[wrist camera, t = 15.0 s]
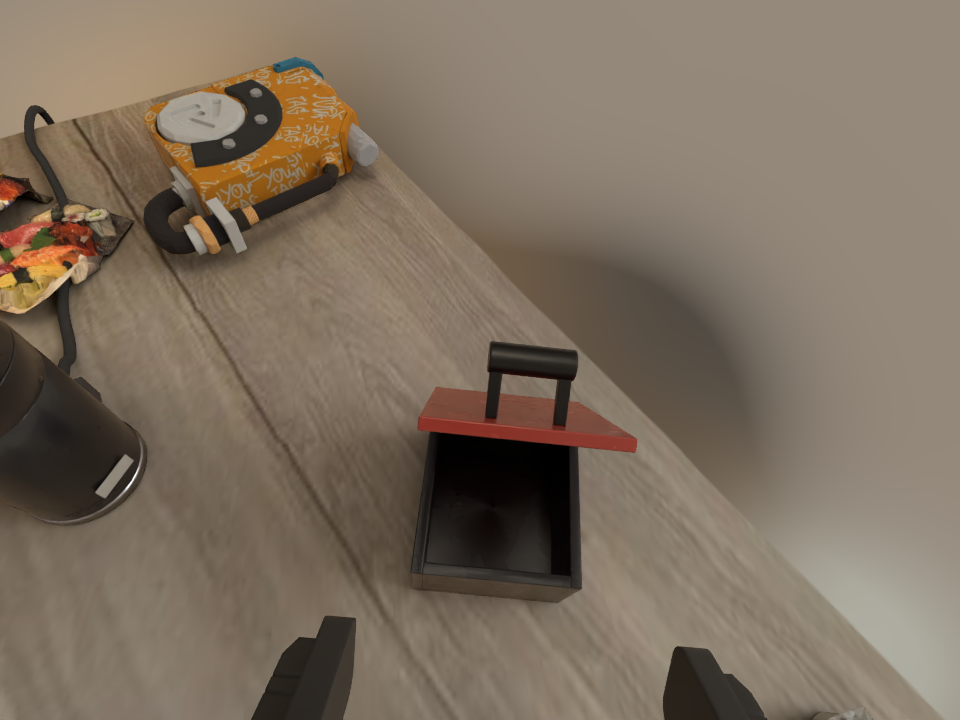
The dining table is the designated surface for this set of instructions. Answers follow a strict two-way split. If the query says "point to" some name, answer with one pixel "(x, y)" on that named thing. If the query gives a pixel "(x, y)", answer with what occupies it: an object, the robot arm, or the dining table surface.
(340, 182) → the dining table surface
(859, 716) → the egg carton
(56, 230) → the food
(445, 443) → the black open box
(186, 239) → the device
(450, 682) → the dining table surface
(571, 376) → the lid
